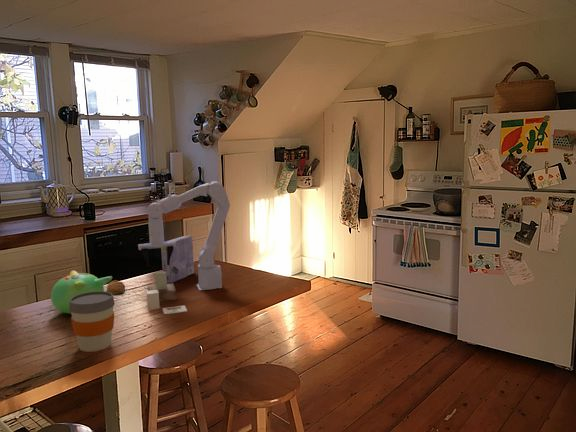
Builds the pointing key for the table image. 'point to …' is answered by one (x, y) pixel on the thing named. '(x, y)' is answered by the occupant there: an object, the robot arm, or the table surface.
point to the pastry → (115, 287)
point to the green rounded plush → (75, 288)
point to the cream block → (153, 299)
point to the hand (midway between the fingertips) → (158, 265)
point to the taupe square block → (165, 292)
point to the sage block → (161, 280)
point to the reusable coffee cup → (92, 319)
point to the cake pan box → (179, 259)
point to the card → (174, 309)
